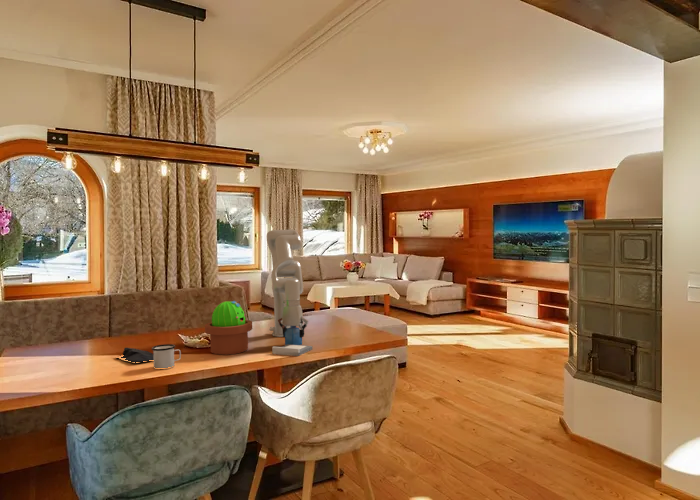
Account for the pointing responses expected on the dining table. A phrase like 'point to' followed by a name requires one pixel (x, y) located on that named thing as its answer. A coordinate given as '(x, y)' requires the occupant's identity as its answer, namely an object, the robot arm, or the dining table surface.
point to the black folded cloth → (136, 355)
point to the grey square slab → (291, 350)
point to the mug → (164, 355)
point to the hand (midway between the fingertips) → (293, 336)
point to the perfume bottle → (293, 336)
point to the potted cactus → (228, 329)
